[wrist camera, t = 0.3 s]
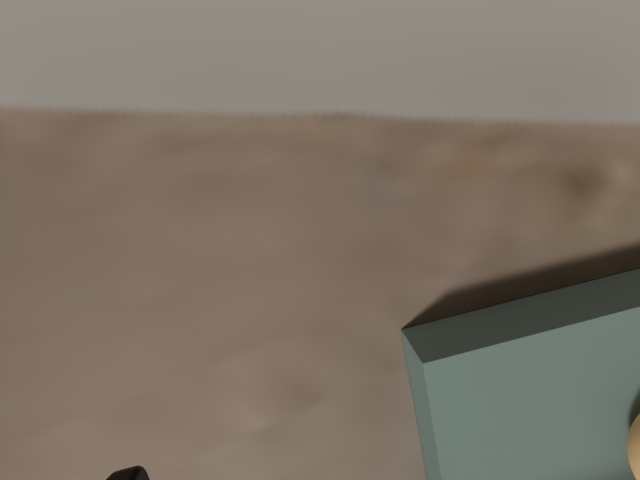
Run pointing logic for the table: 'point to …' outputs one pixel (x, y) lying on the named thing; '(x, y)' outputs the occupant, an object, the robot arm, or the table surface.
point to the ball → (634, 447)
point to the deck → (531, 385)
